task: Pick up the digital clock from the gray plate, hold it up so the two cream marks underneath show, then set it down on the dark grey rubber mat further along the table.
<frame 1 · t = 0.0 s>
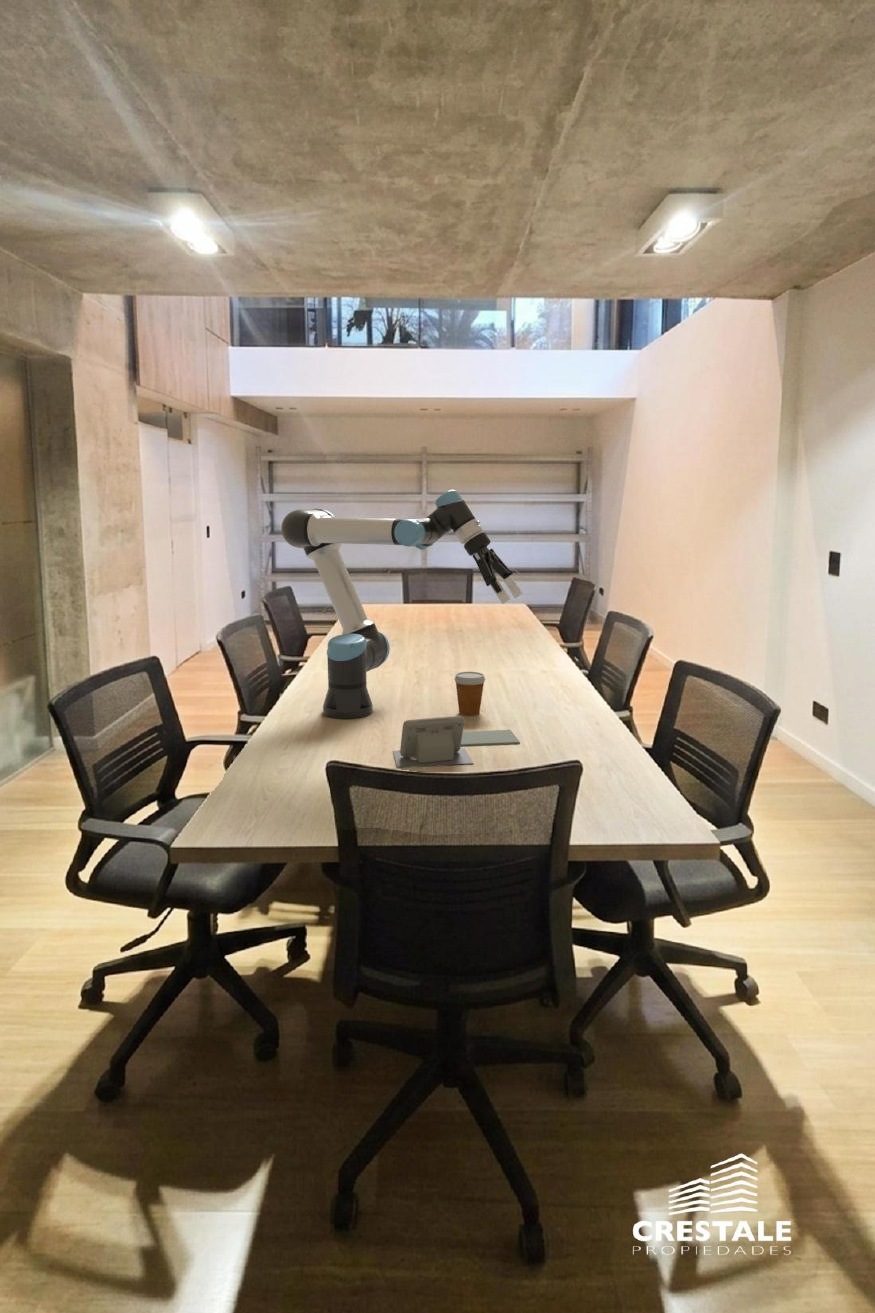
hand: (513, 598, 225), 36 cm above the table, tool tilted 35°, fingers open, 13 cm apart
digital clock: (432, 757, 195), resting on gray plate
side mat: (483, 738, 211), on the table
disposable coffee cup: (469, 713, 237), on the table
gray plate: (432, 757, 195), on the table
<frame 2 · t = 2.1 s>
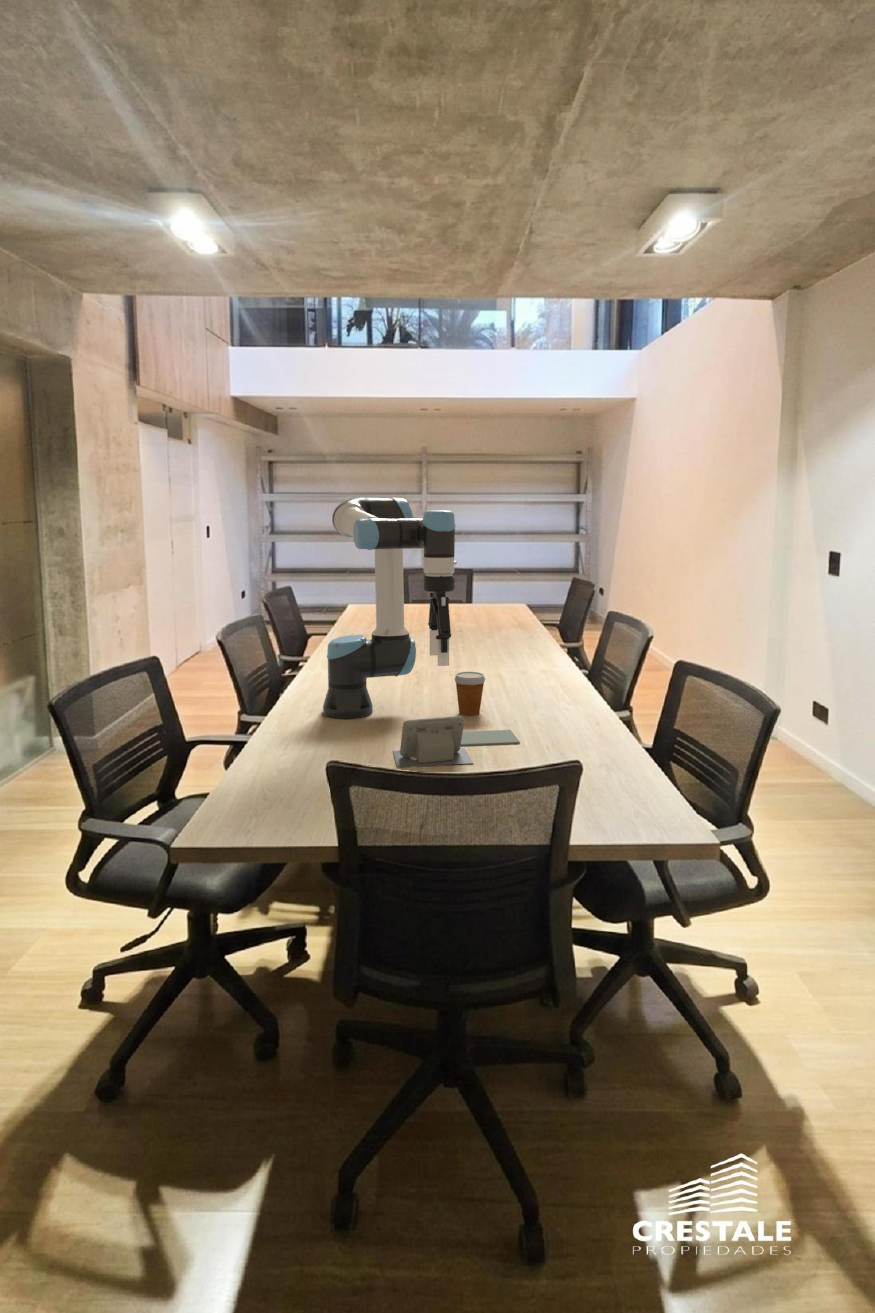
hand: (439, 660, 191), 25 cm above the table, tool pointing down, fingers open, 13 cm apart
nothing on the table moved.
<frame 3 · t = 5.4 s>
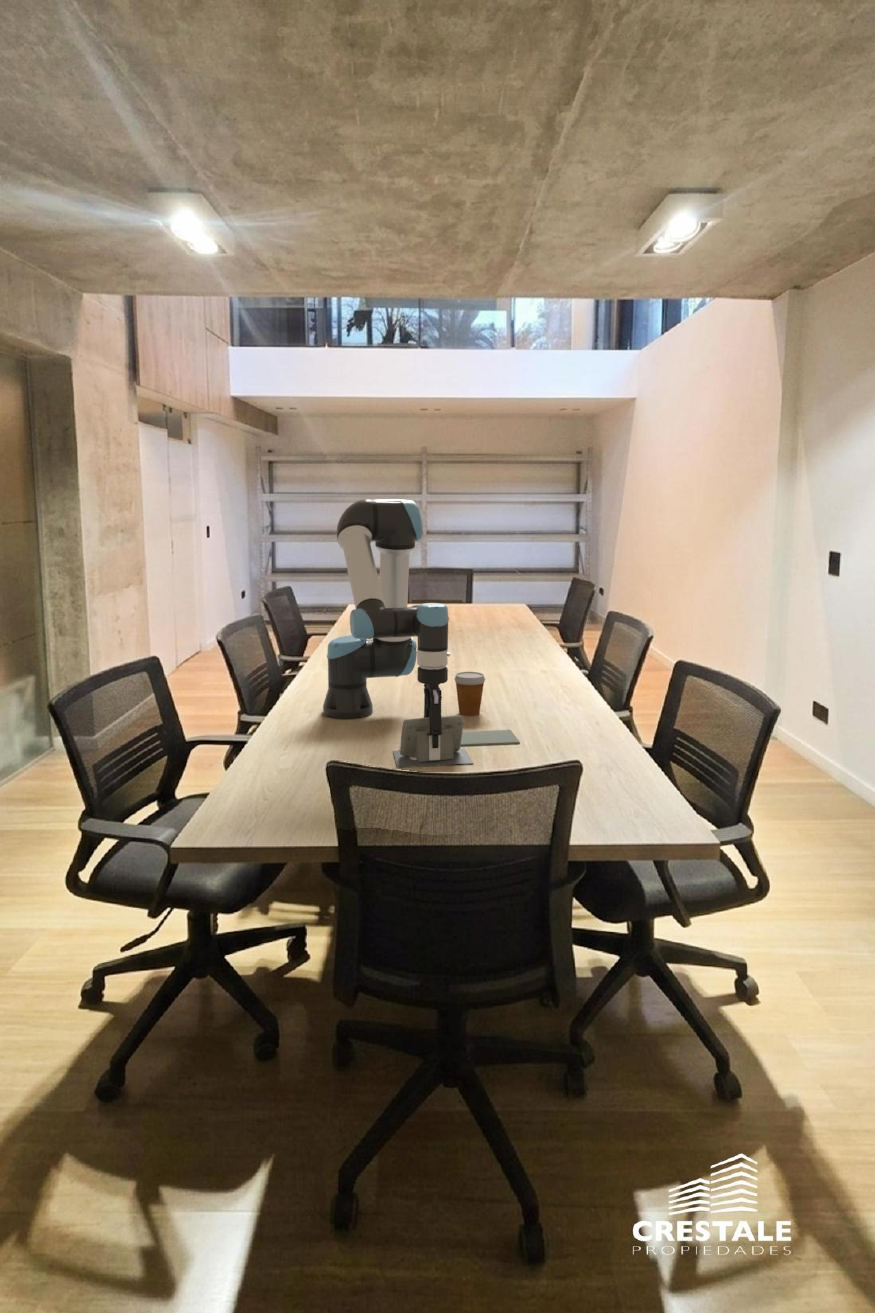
hand: (432, 754, 195), 1 cm above the table, tool pointing down, fingers closed on digital clock, 7 cm apart
digital clock: (432, 756, 196), resting on gray plate, touching gripper
everything else where it was.
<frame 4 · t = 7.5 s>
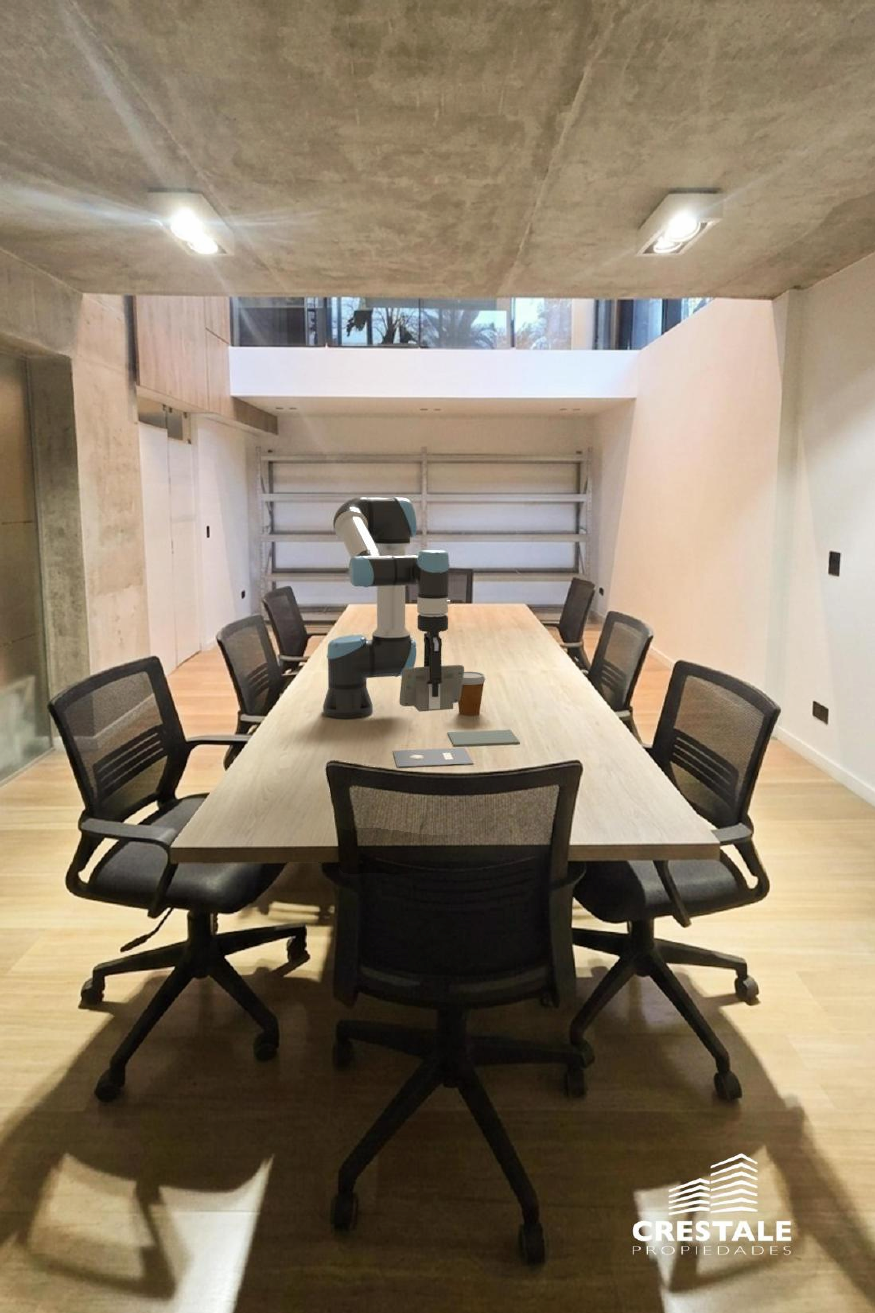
hand: (432, 704, 193), 14 cm above the table, tool pointing down, fingers closed on digital clock, 7 cm apart
digital clock: (431, 707, 194), point 13 cm above the table, touching gripper
everything else where it was.
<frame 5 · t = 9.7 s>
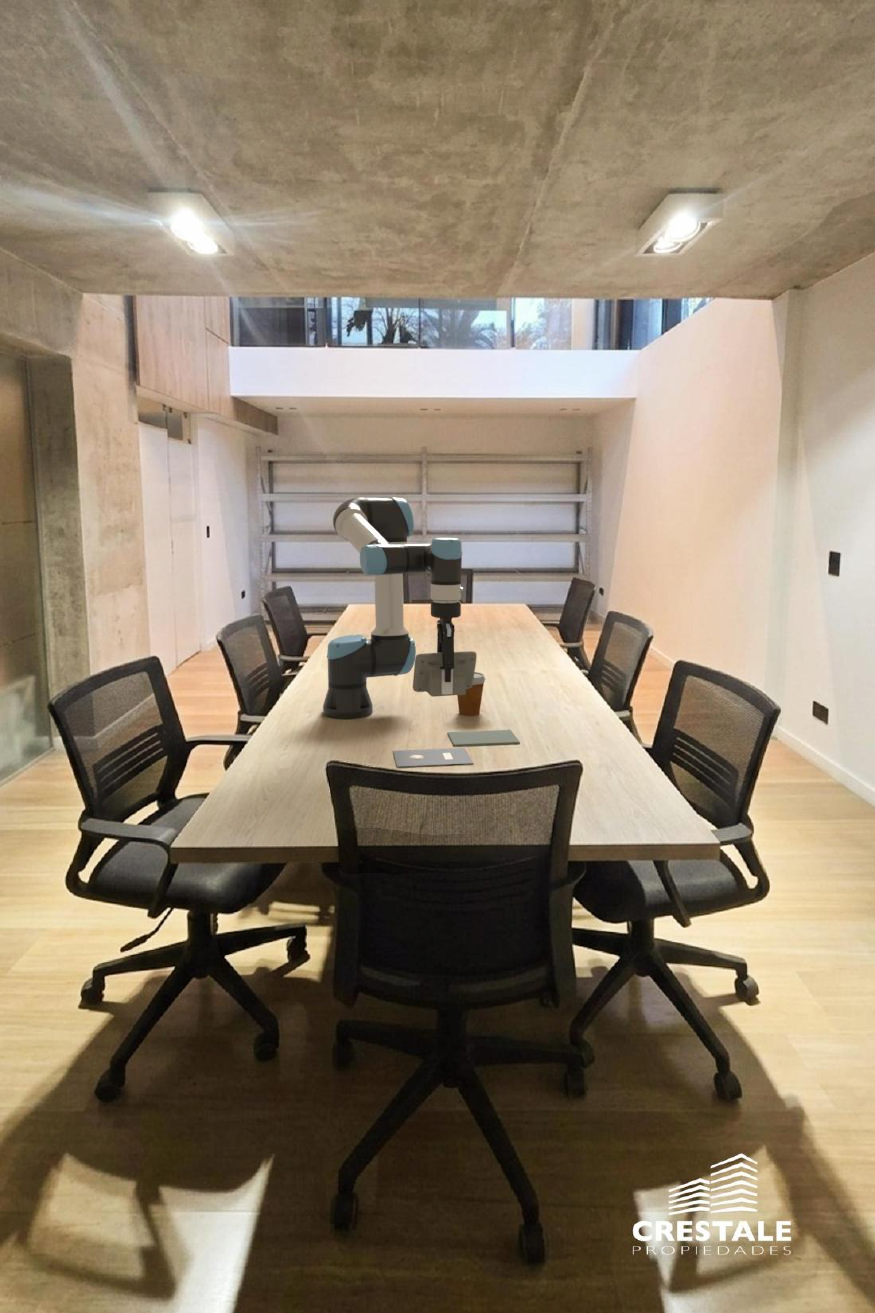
hand: (444, 689, 196), 17 cm above the table, tool pointing down, fingers closed on digital clock, 7 cm apart
digital clock: (444, 692, 197), point 16 cm above the table, touching gripper
everything else where it was.
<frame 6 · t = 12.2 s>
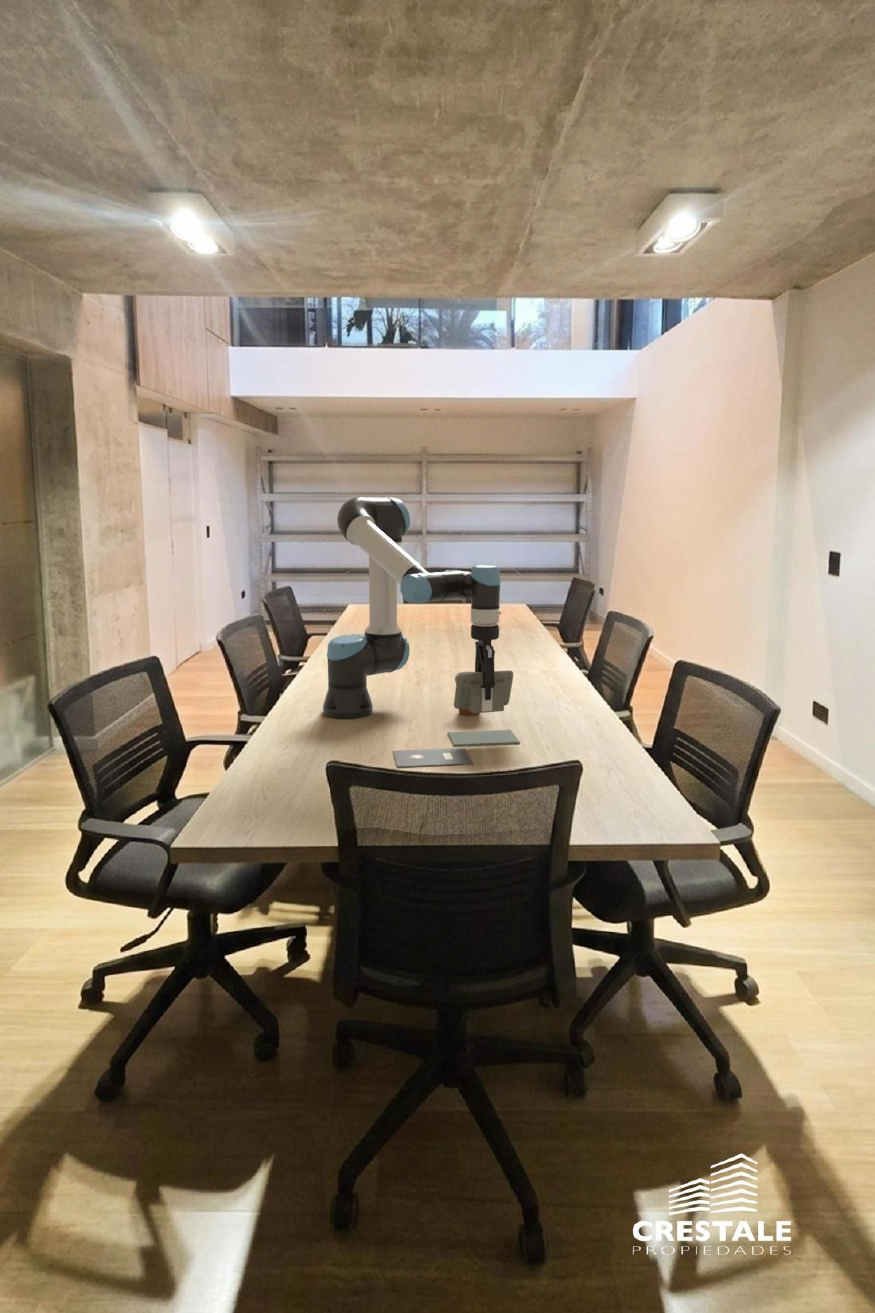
hand: (483, 706, 209), 9 cm above the table, tool pointing down, fingers closed on digital clock, 7 cm apart
digital clock: (483, 709, 210), point 8 cm above the table, touching gripper
everything else where it was.
when the fingers open (3 cm above the table, at t = 14.1 s): digital clock drops 2 cm, resting on side mat.
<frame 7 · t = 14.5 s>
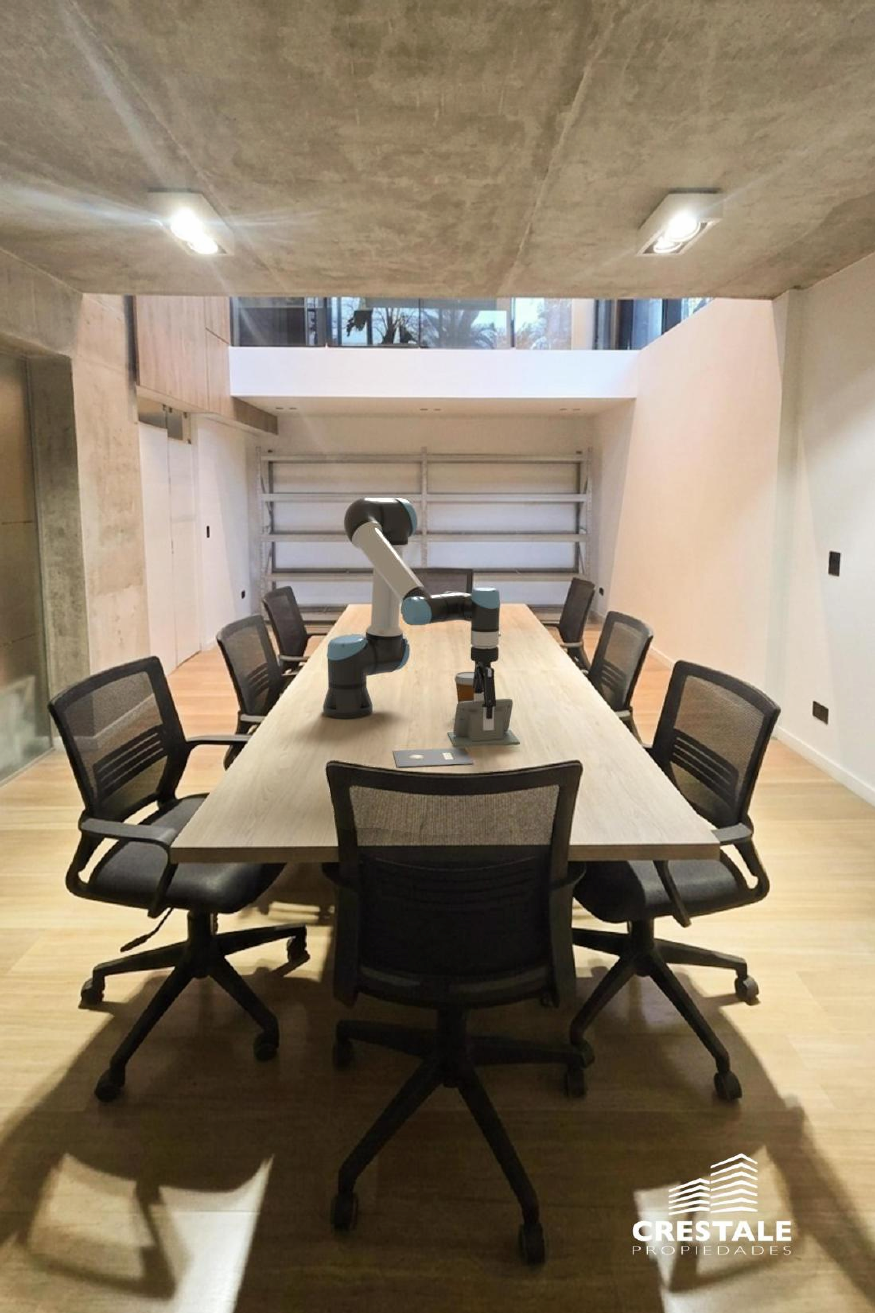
hand: (483, 722, 210), 5 cm above the table, tool pointing down, fingers open, 12 cm apart
digital clock: (482, 736, 212), resting on side mat
everything else where it was.
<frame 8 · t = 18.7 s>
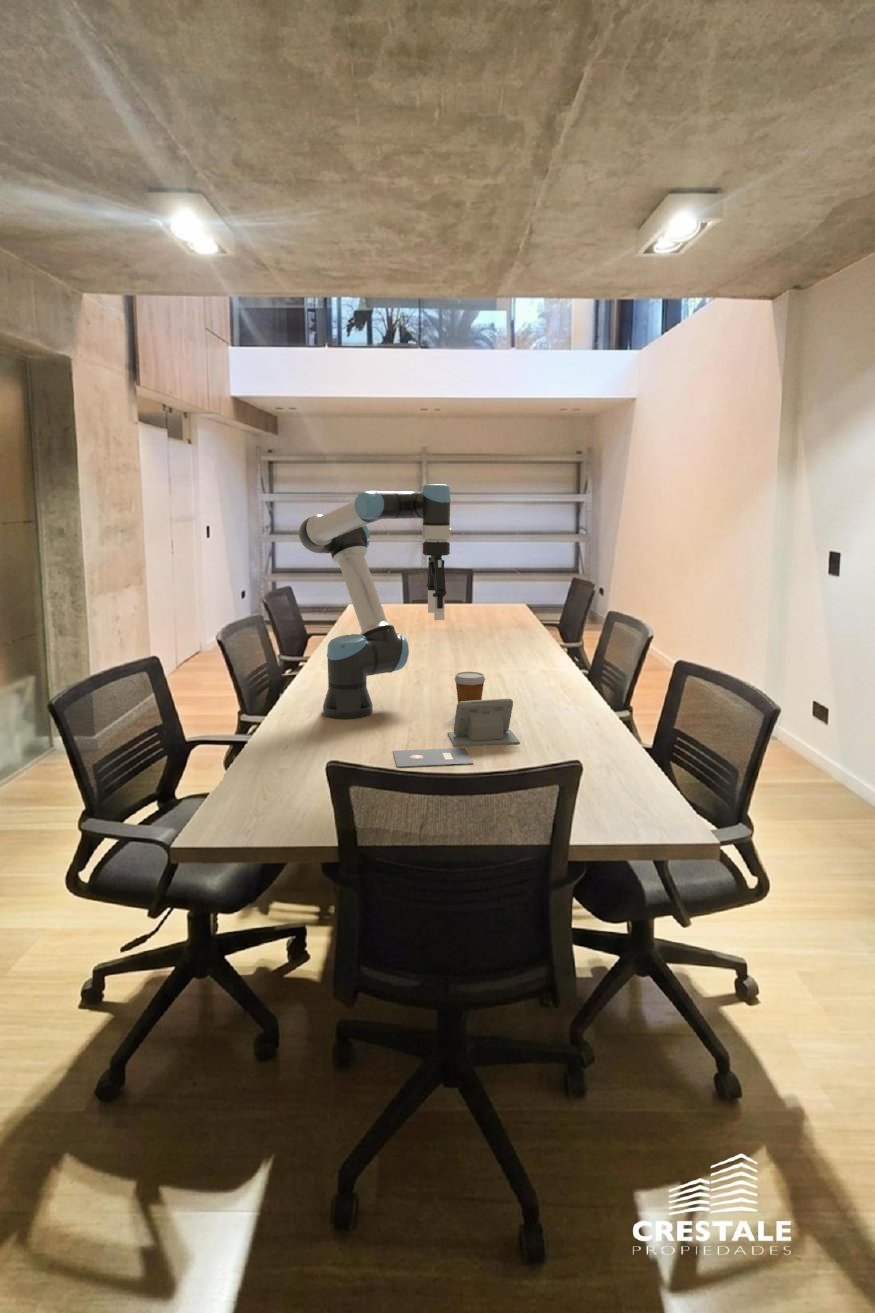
hand: (435, 616, 219), 32 cm above the table, tool pointing down, fingers open, 13 cm apart
nothing on the table moved.
at the end: digital clock inside the target area on the side mat (0.8 cm from its centre), point 0.3 cm above the side mat's base; digital clock tilted 0°; digital clock touching side mat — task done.
